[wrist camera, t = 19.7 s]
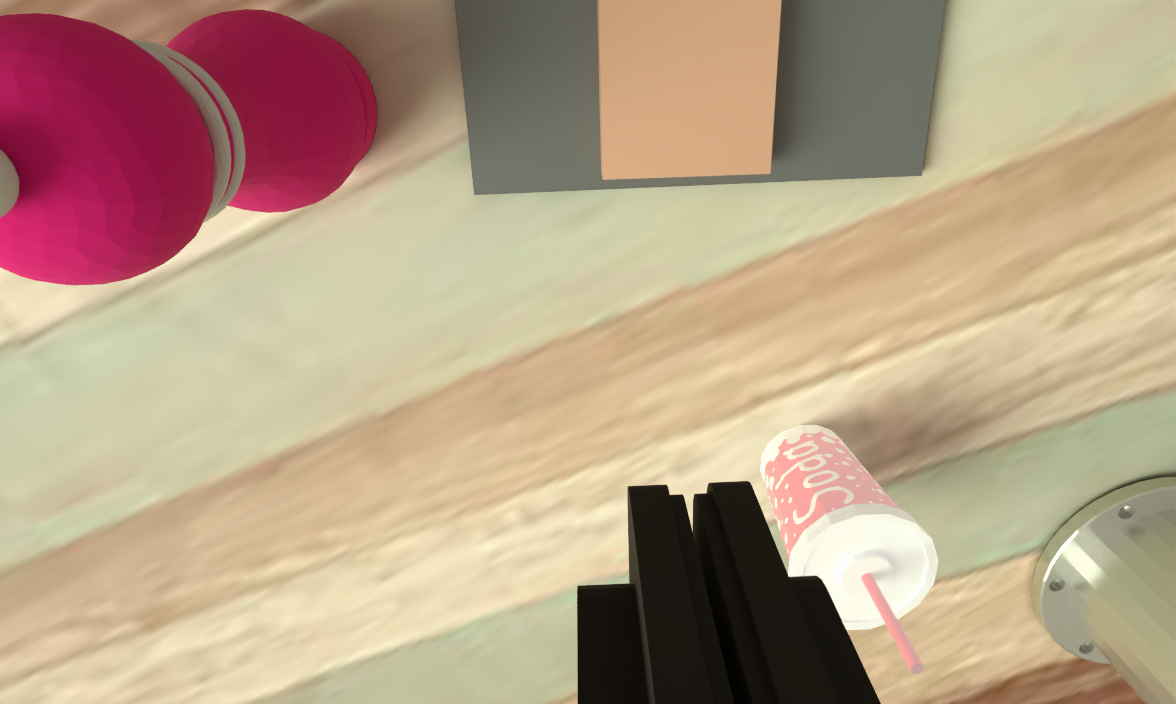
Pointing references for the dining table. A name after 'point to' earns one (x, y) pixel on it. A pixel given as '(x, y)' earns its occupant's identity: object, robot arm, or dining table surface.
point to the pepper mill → (164, 136)
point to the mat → (802, 102)
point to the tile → (687, 87)
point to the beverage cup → (847, 532)
